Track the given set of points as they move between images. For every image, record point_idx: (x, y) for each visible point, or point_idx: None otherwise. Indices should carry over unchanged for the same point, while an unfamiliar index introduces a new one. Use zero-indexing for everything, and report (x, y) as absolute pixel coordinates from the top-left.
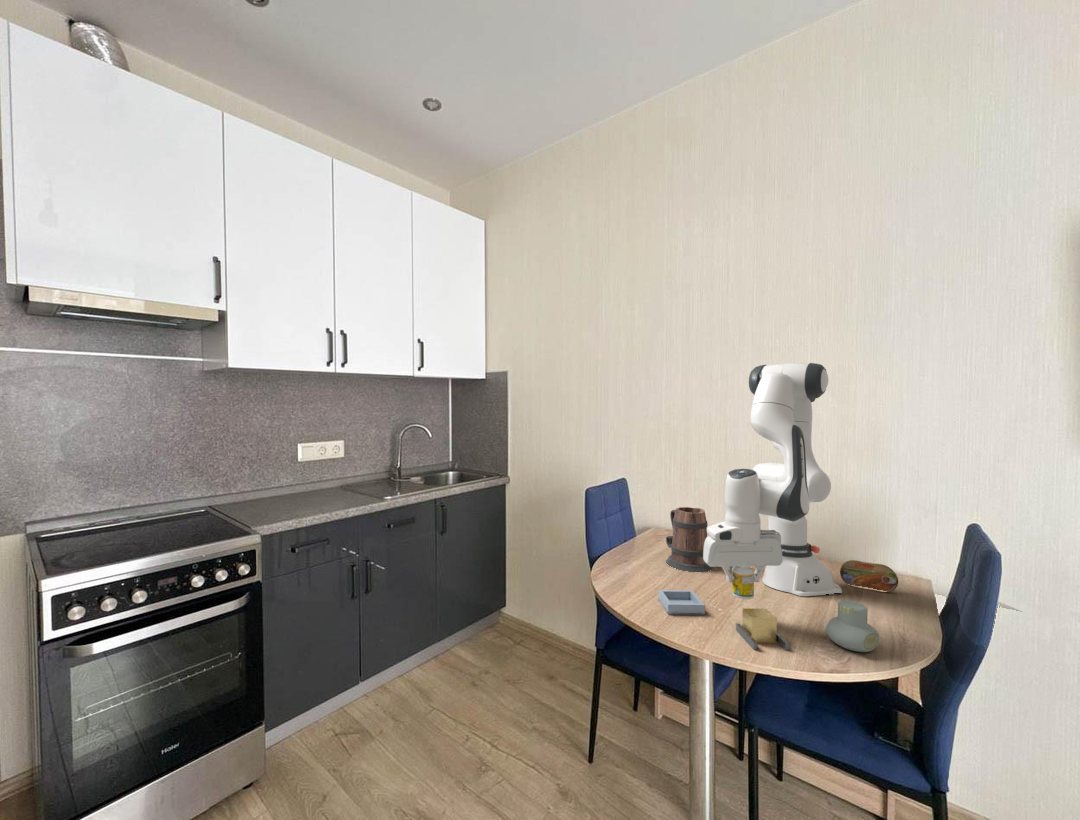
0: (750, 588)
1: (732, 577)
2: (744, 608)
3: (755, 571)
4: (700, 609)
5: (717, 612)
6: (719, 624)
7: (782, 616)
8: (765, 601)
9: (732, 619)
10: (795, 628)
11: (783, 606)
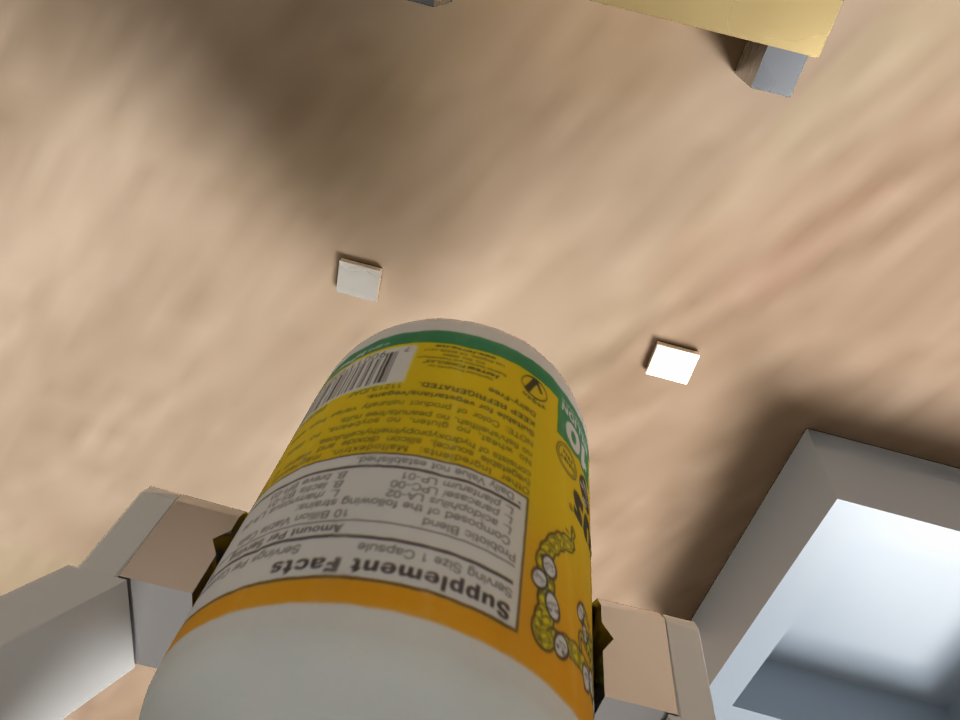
0: (398, 400)
1: (643, 683)
2: (786, 47)
3: (84, 689)
4: (866, 478)
5: (631, 448)
6: (809, 261)
7: (102, 251)
8: (121, 484)
9: (596, 314)
10: (89, 3)
11: (18, 390)
